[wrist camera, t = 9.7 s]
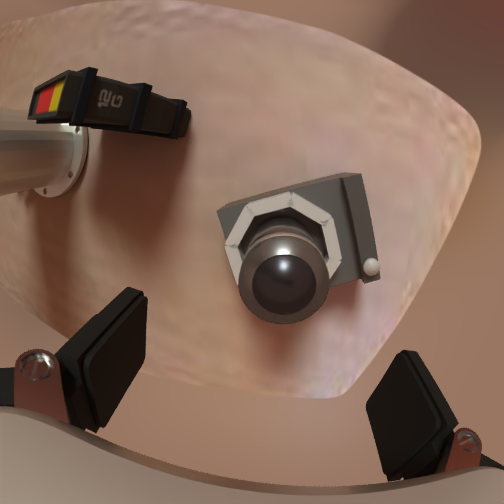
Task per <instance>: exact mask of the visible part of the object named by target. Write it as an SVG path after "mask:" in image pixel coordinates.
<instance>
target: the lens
mask: <svg viewBox="0 0 504 504" xmlns="http://www.w3.org/2000/svg"><path fill="white" fill-rule="evenodd" d="M329 285H330V278H329V272H328V269H327V266H326V263H325V260H324V258H323V256H322V254H321V252H320V251H319V249H318V248H317V246H316V244H315V242H314V240H313V238H312V236H311V234H310V232H309V231H308V229H307V228H306V226H305V225H304V224H303V223H301V222H300V221H299V220H297V219H295V218H292V217H289V216H275V217H271V218H269V219H267V220H265V221H264V222H262V223H261V224H260V225H259V226H258V227H257V228H256V230H255V231H254V233H253V236H252V238H251V241H250V244H249V247H248V250H247V253H246V254H245V256H244V259H243V261H242V265H241V268H240V273H239V279H238V286H239V292H240V296H241V298H242V300H243V302H244V304H245V305H246V307H247V308H248V309H249V310H250V311H251V312H252V313H253V314H254V315H256V316H257V317H259V318H261V319H263V320H265V321H267V322H271V323H276V324H291V323H296V322H299V321H302V320H304V319H306V318H308V317H310V316H311V315H312V314H314V313H315V312H316V311H317V310H318V309H319V308H320V307H321V305H322V304H323V302H324V301H325V299H326V297H327V294H328V291H329Z"/></svg>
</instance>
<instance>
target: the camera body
mask: <svg viewBox="0 0 504 504" xmlns="http://www.w3.org/2000/svg"><path fill="white" fill-rule="evenodd" d="M217 214H218V217H219V220H220V223H221V226H222V229H223V232H224V235H225V238H226V242H225V250H226V253H227V256H228V259H229V262H230V265H231V268H232V271H233V274H234V277H235V280H236V283H237V285H238V279H239V273H240V268H241V265H242V261H243V259H244V256H245V254H246V253H247V250H248V247H249V244H250V241H251V238H252V236H253V233H254V231H255V230H256V228H257V227H258V226H259V225H260V224H261V223H262V222H264V221H265V220H267V219H269V218H271V217H275V216H289V217H292V218H295V219H297V220H299V221H300V222H301V223H303V224H304V225H305V226H306V228H307V229H308V231H309V232H310V234H311V236H312V238H313V240H314V242H315V244H316V246H317V248H318V249H319V251H320V252H321V254H322V256H323V258H324V260H325V263H326V266H327V269H328V272H329V278H330V285H329V287H331V286H334V285H338V284H342V283H346V282H350V281H353V280H357V279H362V281H363V282H364V284H365V283H369V282H372V281H376V280H379V279H380V272H379V270H380V264H379V262H378V257H377V251H376V244H375V238H374V233H373V227H372V222H371V217H370V211H369V207H368V202H367V197H366V193H365V188H364V184H363V180H362V176H361V174H358V173H345V172H344V173H339V174H335V175H331V176H327V177H323V178H319V179H315V180H311V181H307V182H303V183H299V184H295V185H291V186H288V187H284V188H280V189H277V190H273V191H269V192H266V193H262V194H259V195H255V196H252V197H248V198H245V199H241V200H238V201H234V202H231V203H228V204H226V205H225V206H223V207H222V208H220V209H219V210H217Z"/></svg>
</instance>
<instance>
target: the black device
mask: <svg viewBox="0 0 504 504" xmlns="http://www.w3.org/2000/svg"><path fill="white" fill-rule="evenodd" d="M97 71H98V69H96V68H92V67H87V68H85V69H82V70H80V71H77V72H76V71H71V70H67V71H65V72H63V73H61V74H59V75H57V76H55V77H54V78H52V79H50V80H48V81H46V82H45V83H43V84H41V85H39V86H38V87H36V88H35V89H34V92H33V96H32V100H31V104H30V108H29V112H28V117H27V120H36V124H69V126H77V127H91V128H93V129H103V130H113V131H122V132H130V133H138V134H145V135H152V136H159V137H165V138H171V139H178V137H184V136H185V133H186V129H187V126H188V122H189V118H190V114H191V110H189V109H188V108H186V106H187V102H186V101H184V100H180V99H168V98H166V97H163V96H161V95H158V94H156V93H153V92H151V90H152V87H153V86H152V85H149V84H146V83H135V84H127V83H123V82H120V81H117V80H113V79H109V78H105V77H100V76H96V74H97Z"/></svg>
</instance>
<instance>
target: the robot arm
mask: <svg viewBox="0 0 504 504" xmlns="http://www.w3.org/2000/svg"><path fill="white" fill-rule="evenodd" d="M28 112H29V111H27V110H15V109H0V196H2V195H7V194H11V193H16V192H20V191H25V190H30V189H34V190H35V191H36V192H37V193H38V194H39V195H41V196H43V197H48V198H51V197H57V196H60V195H62V194H64V193H66V192H67V191H68V190H69V189H70V188H71V187H72V186H73V185H74V184H75V182H76V181H77V179H78V177H79V175H80V173H81V171H82V169H83V166H84V163H85V159H86V154H87V146H88V134H87V128H86V127H77V126H69V124H36V120H27V117H28ZM147 304H148V299H147V297H145V296H144V293H143V291H140V290H137V289H134V288H131V287H127V288H125V289H124V290H123V291H122V292H121V293H120V294H119V295H118V296H117V297H116V298H115V299H113V300H112V301H111V302H110V303H109V304H108V305H107V306H106V307H105V308H104V309H103V310H102V311H101V312H100V313H98V314H96V315H95V316H93V317H92V318H91V319H90V320H89V321H88V322H87V323H86V324H85V325H84V326H83V327H82V328H81V329H80V330H79V331H78V332H77V333H76V334H75V335H74V336H73V337H72V338H71V339H70V340H69V341H68V342H66V343H65V344H64V346H62V347H61V348H60V350H59V351H58V352H57V353H56V354H55V355H53V354H52V353H50V352H49V351H46V350H43V349H32V350H28V351H26V352H24V353H22V354H21V355H20V356H19V357H18V359H17V360H16V363H15V367H12V368H0V504H504V466H502V465H501V464H499V463H497V462H495V461H494V460H492V459H490V458H489V457H487V456H485V455H483V454H482V453H481V451H482V443H481V440H480V438H479V437H478V435H477V434H476V433H475V432H474V431H472V430H471V429H469V428H460V429H458V430H457V431H456V432H455V433H454V432H453V429H454V428H455V427H456V426H457V424H458V421H457V419H456V417H455V415H454V414H453V412H452V410H451V408H450V406H449V404H448V403H447V401H446V399H445V398H444V396H443V394H442V392H441V391H440V389H439V387H438V385H437V384H436V382H435V380H434V379H433V377H432V375H431V374H430V372H429V370H428V369H427V367H426V366H425V364H424V362H423V361H422V359H421V358H420V356H419V354H418V353H417V352H416V351H408V350H402V351H401V352H400V353H398V354H397V355H396V356H395V358H394V360H393V361H392V363H391V365H390V366H389V368H388V370H387V371H386V373H385V375H384V376H383V378H382V380H381V381H380V383H379V384H378V386H377V387H376V389H375V390H374V392H373V393H372V395H371V396H370V398H369V399H368V401H367V403H366V411H367V414H368V417H369V421H370V424H371V428H372V431H373V435H374V439H375V442H376V446H377V450H378V454H379V458H380V461H381V465H382V469H383V473H384V474H385V475H386V476H387V480H388V482H387V483H379V484H368V485H355V486H331V487H330V486H328V487H327V486H323V487H321V486H292V485H278V484H268V483H260V482H251V481H245V480H239V479H233V478H227V477H222V476H217V475H212V474H208V473H204V472H199V471H195V470H191V469H187V468H184V467H180V466H177V465H173V464H170V463H167V462H163V461H161V460H157V459H155V458H152V457H148V456H146V455H143V454H140V453H137V452H134V451H132V450H129V449H127V448H124V447H121V446H119V445H116V444H114V443H112V442H109V441H107V440H105V439H103V438H100V437H98V436H95V435H93V434H91V433H88V432H86V431H85V429H86V428H87V429H89V430H91V431H93V432H95V433H97V430H98V429H99V428H100V427H102V428H104V427H105V426H106V425H107V423H108V422H109V420H110V418H111V416H112V415H113V413H114V411H115V409H116V408H117V406H118V404H119V403H120V401H121V399H122V398H123V396H124V394H125V392H126V391H127V389H128V387H129V386H130V384H131V382H132V381H133V379H134V378H135V376H136V374H137V373H138V371H139V369H140V368H141V366H142V364H143V362H144V360H145V352H146V322H147ZM402 477H403V478H404V480H401V481H396V480H400V479H401V478H402ZM389 481H395V482H389Z"/></svg>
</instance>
